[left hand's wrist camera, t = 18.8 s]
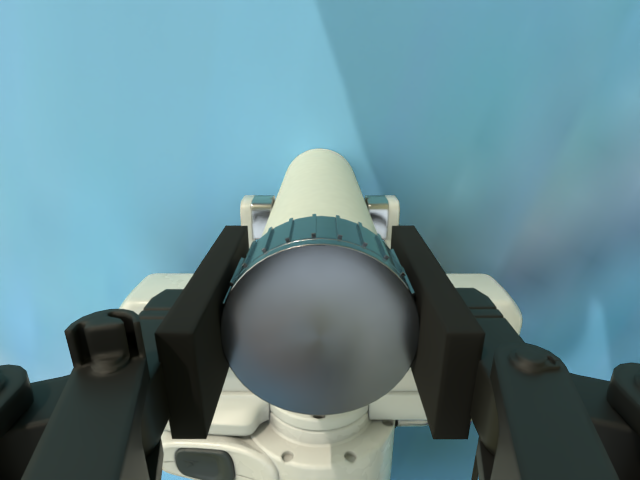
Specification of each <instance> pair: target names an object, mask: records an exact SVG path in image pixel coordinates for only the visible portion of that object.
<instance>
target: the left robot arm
mask: <svg viewBox="0 0 640 480" xmlns="http://www.w3.org/2000/svg"><path fill="white" fill-rule="evenodd" d="M391 249H394V251H395V252H396V255H397V257H398V259H399V261H400V263H401V266H402V267H403V268H404V270H405V272H406V274H407V276H408V279H409V281H410V283H411V285H412V287H413V289H414V292H415V294H416V296H414V297H413V298H414V300H415V302H416V304H417V308H418V312H419V316H420V332H419V342H418V350H417V353H416V356H415V359H414V361H413V363H412V365H411V367H410V368H411V371H412V374H413V377H414V380H415V383H416V386H417V390H418V393H419V396H420V399H421V402H422V405H423V408H424V411H425V415H426V418H427V421H428V424H429V427H430V430H431V433H432V437H433V439H468V435H469V429H470V423H471V419H472V421H473V423H474V426H475V428H476V430H477V432H478V434H479V440H478V445H477V451H476V456H475V462H474V467H473V473H472V480H477V479H478V474H479V480H640V364H639V363H625V364H620V365H618V366H617V367H616V368H614V370H613V374H612V377H611V380H610V381H606V380H601V379H596V378H591V377H585V376H580V375H576V374H572V373H569V371H568V369H567V367H566V366H565V365H564V363H563V362H562V361H561V359H560V358H558V357H557V356H555V355H554V354H552V353H551V352H550V351H548V350H545V349H543V348H541V347H538V346H536V345H531V344H527V343H525V342H524V341H523V340H522V338H521V337H520V336H519V335H518V333H517V332H516V331H515V330H514V328H513V327H512V326H511V325H510V323H509V322H508V321H507V320H506V318H504V317H503V314H502V313H501V312H500V311H499V309H497V307H496V306H495V304H494V303H493V302H492V301H491V299H490V298H489V297H488V296H486V295H485V294H483V293H482V292H480V291H478V290H477V289H475V288H455V287H454V285H453V284H452V282H451V281H450V279H449V278H448V276H447V275H446V273H445V272H444V270H443V269H442V267H441V266H440V264H439V263H438V261H437V260H436V258H435V257H434V255H433V254H432V252H431V251H430V249H429V248H428V246H427V245H426V243H425V242H424V240H423V239H422V237H421V236H420V234H419V233H418V231H417V230H416V228H415V227H414V226H392V233H391ZM391 249H390V250H391ZM248 251H249V238H248V226H225V228H224V229H223V231H222V232H221V234H220V235H219V237H218V238H217V240H216V241H215V243H214V244H213V246H212V247H211V249H210V250H209V252H208V253H207V255H206V256H205V258H204V259H203V261H202V262H201V264H200V265H199V267H198V268H197V270H196V271H195V273H194V274H193V276H192V277H191V279H190V280H189V282H188V283H187V285H186V286H185V288H184V289H165V290H164V291H162V292H160V293H159V294H157V295H156V296H154V297H152V298H151V299H150V301H149V302H148V303H147V304H146V306H145V307H144V308H143V311H141V312H140V313H139V315H138V314H137V313H135V312H134V311H131V310H127V309H108V310H103V311H98V312H95V313H92V314H89V315H86V316H84V317H82V318H80V319H78V320H77V321H75V322H73V323H72V324H71V325H70V326H69V327H68V328H67V329H66V330H65V331H64V332H65V335H66V339H67V343H68V347H69V351H70V355H71V359H72V362H73V366H74V368H73V370H72V372H71V374H70V375H67V376H63V377H58V378H53V379H48V380H44V381H39V382H34V383H30V381H29V378H28V375H27V371H26V370H25V369H23V368H22V367H21V366H16V365H1V366H0V480H161V475H162V466H163V458H164V452H163V445H162V440H161V436H162V434H163V431H164V429H165V427H166V425H167V423H168V420H169V424H170V430H171V436H172V439H207V436H208V433H209V429H210V426H211V423H212V420H213V417H214V414H215V411H216V408H217V404H218V401H219V398H220V395H221V392H222V389H223V386H224V383H225V379H226V376H227V373H228V370H229V365H228V362H227V360H226V358H225V356H224V353H223V349H222V344H221V335H220V318H221V312H222V309H223V301H224V299H225V297H226V295H227V292H228V290H229V288H230V286H229V283H230V281H231V278H232V276H233V274H234V272H235V270H236V268H237V265H238V263H239V261H240V259H241V257H242V258H244V257H245V256H246V254H247V253H248Z"/></svg>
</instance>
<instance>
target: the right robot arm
mask: <svg viewBox="0 0 640 480" xmlns="http://www.w3.org/2000/svg"><path fill="white" fill-rule="evenodd" d="M274 203H275V196H264V195H245V196H244V198H243V199H242V201H241V207H240V215H241V226H248V238H249V248H250V246H251V244H252V242H253V241H254V240H255V241H256V239H260V238H261V237H262V234H263V231H264V229H265V226H266V224H267V221H268V218H269V216H270V213H271V211H272V208H273V205H274ZM365 203H366V206H367V208H368V211H369V213H370V216H371V218H372V221H373V224H374V226H375V229H376V231H377V233H378V234H380V235H381V238H382V240H384V241H385V243H386V245H387V246H388V247H389V248H390V249H391V233H392V226H399V214H400V207H399V201H398V199H397V198H396V196H395V195H368V196H365ZM193 274H194V273H155V274H150V275H148V276H147V277H146V278H144V279H143V280H142V281H141V282H140V283H139V284H138V285H137V286H136V287H135V288H134V289H133V290H132V291H131V293H130V294H129V295H128V296H127V297H126V299H125V300H124V301H123V303H122V304H121V306H120V308H119V309H127V310H131V311H134V312H135V313H137V314H138V315H139V313H140V312H141V311H143V308H144V307H145V306H146V304H147V303H148V302H149V301H150V299H151V298H152V297H154V296H156V295H157V294H159V293H160V292H162V291H164V290H165V289H184V288H185V286H186V285H187V283H188V282H189V280H190V279H191V277H192V276H193ZM446 275H447V276H448V278H449V279H450V281H451V282H452V284H453V285H454V287H455V288H475V289H477V290H478V291H480V292H482V293H483V294H485V295H486V296H488V297H489V298H490V299H491V301H492V302H493V303H494V304H495V306H496V307H497V309H499V311H500V312H501V313H502V314H503V317H504V318H506V320H507V321H508V322H509V323H510V325H511V326H512V327H513V328H514V330H515V331H516V332H517V333H518V335H520V331H521V327H522V314H521V312H520V310H519V308H518V306H517V304H516V303H515V302H514V300H513V299H512V298H511V296H510V295H509V294H508V293H507V291H506V290H505V289H504V288H503V287H502V286H501V285H500V284H499V283H498V282H497V281H496V280H494V279H493V278H492V277H491V276H489V275H487V274H446ZM471 423H472V419H471ZM471 423H470V424H471ZM396 426H397V427H399V426H400V427H422V426H429V424H428V421H427V418H426V415H425V411H424V408H423V405H422V402H421V399H420V396H419V393H418V390H417V386H416V383H415V380H414V377H413V374H412V371H411V368H409V370H408V372H407V373H406V374H405V376H404V377H403V379H402V380H401V381H400V382H399V383H398V384H397V385H396V386H395V387H394V388H393V389H392V390H391V391H389V392H388V393H387V394H386V395H384V396H383V397H381V398H380V399H378V400H377V401H375V402H373V403H371V404H369V405H367V406H365V407H362V408H359V409H357V410H354V411H350V412H346V413H341V414H334V415H305V414H299V413H294V412H290V411H287V410H283V409H281V408H278V407H276V406H273V405H271V404H269V403H267V402H265V401H264V400H262V399H260V398H259V397H257V396H256V395H254V394H253V393H252V392H251V391H249V390H248V389H247V388H246V387H245V386H244V385H243V384H242V383H241V382H240V381H239V379H238V378H237V377H236V376H235V374H234V373H233V371H232V370H231V368H230V367H229V370H228V373H227V376H226V379H225V383H224V386H223V389H222V392H221V395H220V398H219V401H218V404H217V408H216V411H215V414H214V417H213V420H212V423H211V426H210V429H209V433H208V436H207V439H172V436H171V430H170V424H169V420H168V423H167V425H166V427H165V429H164V431H163V434H162V436H161V440H162V445H163V452H164V458H163V466H162V470H163V471H165V472H167V473H170V474H173V475H177V476H181V477H186V478H190V479H194V480H390V477H391V464H392V453H393V442H394V429H395V428H396Z"/></svg>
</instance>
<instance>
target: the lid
mask: <svg viewBox="0 0 640 480" xmlns="http://www.w3.org/2000/svg"><path fill="white" fill-rule="evenodd" d="M229 286H230V288H229V290H228V292H227V295H226V297H225V299H224V301H223V309H222V312H221V318H220V335H221V344H222V349H223V353H224V356H225V358H226V360H227V362H228V365H229V367H230V368H231V370H232V371H233V373H234V374H235V376H236V377H237V378H238V379H239V381H240V382H241V383H242V384H243V385H244V386H245V387H246V388H247V389H248V390H249V391H251V392H252V393H253V394H254V395H256V396H257V397H259V398H260V399H262V400H264V401H265V402H267V403H269V404H271V405H273V406H276V407H278V408H281V409H283V410H287V411H290V412H294V413H299V414H305V415H334V414H341V413H346V412H350V411H354V410H357V409H359V408H362V407H365V406H367V405H369V404H371V403H373V402H375V401H377V400H378V399H380V398H381V397H383V396H384V395H386V394H387V393H388V392H389V391H391V390H392V389H393V388H394V387H395V386H396V385H397V384H398V383H399V382H400V381H401V380H402V379H403V377H404V376H405V374H406V373H407V372H408V370H409V368H410V367H411V365H412V363H413V361H414V359H415V356H416V353H417V350H418V342H419V332H420V316H419V312H418V308H417V304H416V302H415V300H414V298H413V297H414V296H416V294H415V292H414V289H413V287H412V285H411V283H410V281H409V279H408V276H407V274H406V272H405V270H404V268H403V267H402V266H401V263H400V261H399V259H398V257H397V255H396V252H395V251H394V249H391V250H390V248H389V247H388V246H387V245H386V244H385V242H384V241H383V240H382V238H381V235H380V234H378V233H377V235H376V234H374V233H373V232H371V231H370V230H368V229H367V228H365V227H363V226H362V223H360V222H358V223H355V222H352V221H349V220H346V219H342V218H340V216H339V215H336V217H329V216H316V214H312V216H309V217H304V218H298V219H295V220H294V219H293V218H290V219H289V221H288V222H286V223H283V224H281V225H279V226H277V227H275V228H272V227H270V228H269V229H268V232H267V233H266V234H265V235H263V236H262V237H261V238H260V239H259V240H258V241H257V242H256V241H255V240H254V241H253V242H252V244H251V246H250V248H249V251H248V253H247V254H246V256H245V257H244V258H242V257H241V259H240V261H239V263H238V265H237V268H236V270H235V272H234V274H233V276H232V278H231V281H230V283H229Z"/></svg>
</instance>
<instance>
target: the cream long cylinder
mask: <svg viewBox="0 0 640 480" xmlns="http://www.w3.org/2000/svg"><path fill="white" fill-rule="evenodd" d="M312 214H316V216H329V217H336V215H339V216H340V218H342V219H346V220H349V221H352V222H355V223H358V222H360V223H362V226H363V227H365V228H367V229H368V230H370V231H371V232H373V233H374V234H376V235H377V231H376V229H375V226H374V224H373V221H372V218H371V216H370V213H369V211H368V208H367V206H366V203H365V200H364V198H363V195H362V193H361V190H360V188H359V185H358V182H357V180H356V177H355V175H354V172H353V170H352V168H351V166H350V164H349V163H348V162H347V160H346V159H345V158H344V157H342V156H341V155H340V154H338V153H336V152H334V151H331V150H328V149H312V150H308V151H306V152H304V153H302V154H300V155H299V156H297V157H296V158H295V159H294V160H293V161H292V163H291V164H290V165H289V167H288V169H287V172H286V174H285V177H284V179H283V182H282V185H281V187H280V190H279V192H278V195H277V198H276V200H275V203H274V205H273V208H272V211H271V213H270V216H269V218H268V221H267V224H266V226H265V229H264V231H263V234H262V236H263V235H265V234H266V233H267V232H268V229H269V228H270V227H272V228H275V227H277V226H279V225H281V224H283V223H286V222H288V221H289V219H290V218H293V219H294V220H295V219H298V218H304V217H309V216H312Z"/></svg>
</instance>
